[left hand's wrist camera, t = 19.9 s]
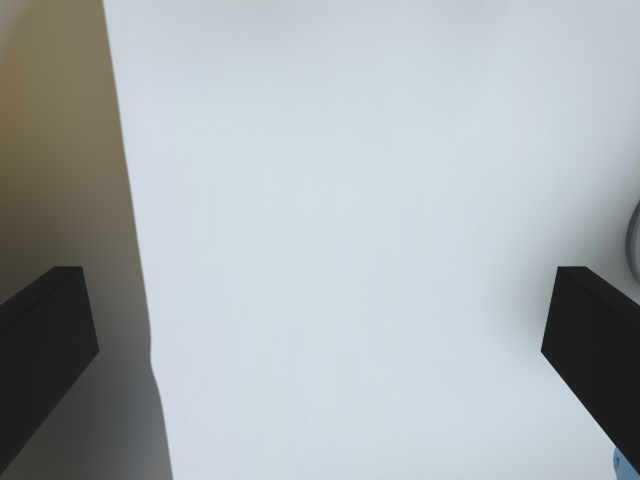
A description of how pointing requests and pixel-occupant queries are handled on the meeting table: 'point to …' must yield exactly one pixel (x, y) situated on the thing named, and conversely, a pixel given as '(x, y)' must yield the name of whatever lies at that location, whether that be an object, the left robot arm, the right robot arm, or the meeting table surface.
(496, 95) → the meeting table surface
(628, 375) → the left robot arm
